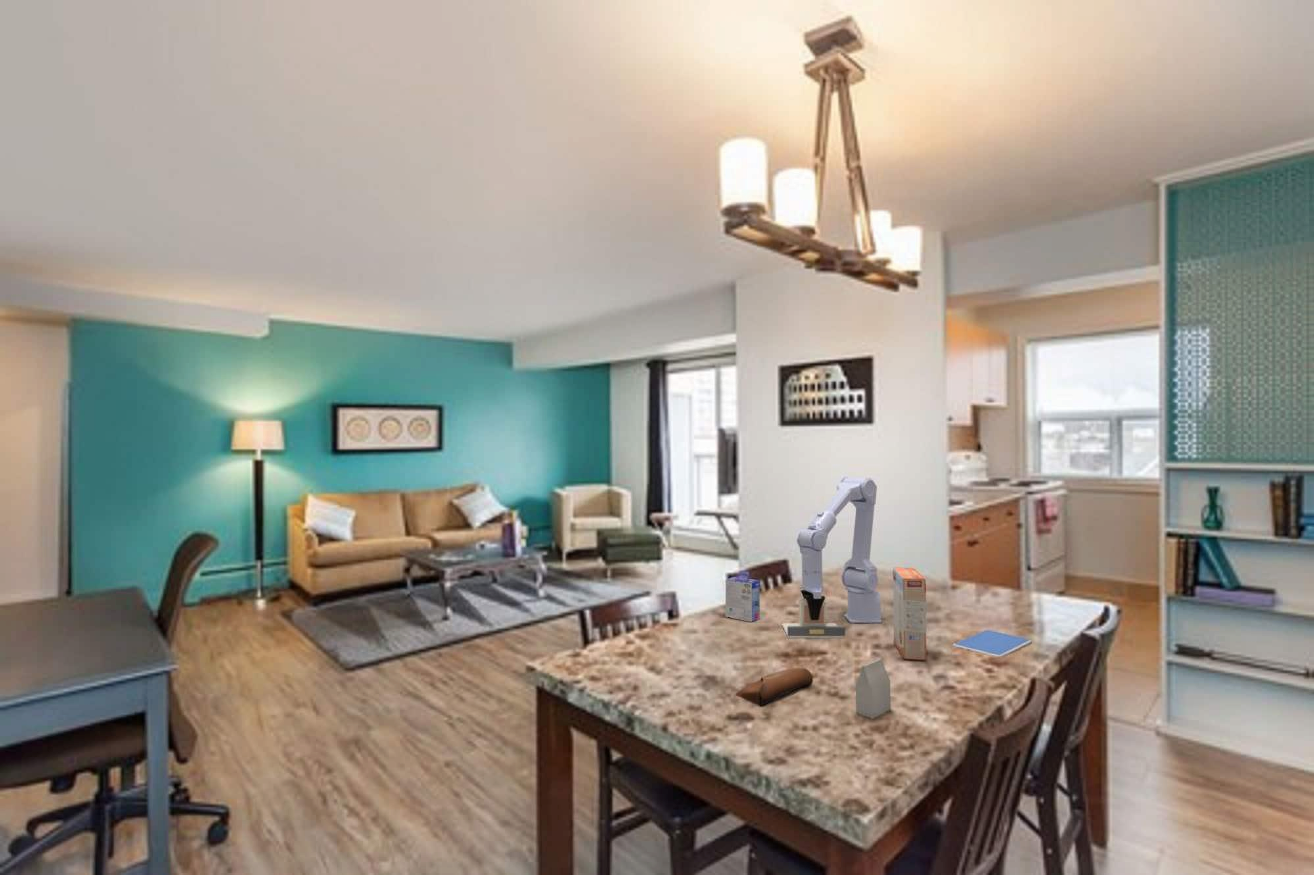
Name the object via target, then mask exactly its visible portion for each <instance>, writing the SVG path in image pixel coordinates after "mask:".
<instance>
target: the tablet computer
mask: <svg viewBox="0 0 1314 875" xmlns="http://www.w3.org/2000/svg"><path fill="white" fill-rule="evenodd" d="M1032 642H1033V641H1032V640H1031V639H1029V638H1025V637H1022V636H1021V637H1020V636H1017V635H1012V634H1007V633H1003V632H998V631H994V630H990V629H985V630H983V631H980V632H978V633H975V634H973V635H971V636H969V637H967V638H964V639H961V640H959V641H957V642H954V643H953V644H952V646H953V647H954V646H956V647H955V648H958V649H962V648H964V649H963V650H966V651H970V650H971V651H970V652H974V653H977V652H979V653H978V654H981V653H982V655H985V654H987V655H986V656H989V655H990V657H993V656H995V657H994V658H997V657H1002V658H1003V657H1006V656H1007V655H1009V654H1012V653H1013V652H1015V651H1017V650H1019V649H1021V648H1023V647H1025V646H1028V645H1029V644H1032Z"/></svg>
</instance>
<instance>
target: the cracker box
mask: <svg viewBox="0 0 1314 875" xmlns="http://www.w3.org/2000/svg"><path fill="white" fill-rule="evenodd" d="M892 579H893V581H892V585H893V586H892V587H893V588H892V590H893V591H892V592H893V597H892V599H893V642H894V645H895V646H896V649H897V650H898V651H899V653H900V656H901V657H902V659H903V660H911V661H912V660H913V661H927V584H926V583H927V582H926V581H927V579H926V578H925V576H923V575H922V574H921V573H920V572H919V571H917V569H915V568H914V567H893V569H892Z"/></svg>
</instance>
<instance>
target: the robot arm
mask: <svg viewBox="0 0 1314 875" xmlns="http://www.w3.org/2000/svg"><path fill="white" fill-rule="evenodd" d="M877 489H878V487H877V485H876V483H875V481H874V480H873V479H872V478H871V477H849V476H844V477H842V478H841V479H840V481H839V482H838V483H837V485H836V490H837V491H836V493H835V495H834V496H833V498H832V499H831V501H830V503H829V505H828V506H827V507H826V509H823V510H820V511H818V512H817V513H816V516H815V517H814V519H813V520H812V521H811V523H810V524H809V525H808V526H807V528H803V529H802V530H800V532H799V533H798V536H797V538H796V542H797V545H798V547H799V552H800V554H801V575H802V576H801V578H802V579H801V580H802V582H801V583H802V584H797V585H798V586H797V588H798V589H800V593H801V596H802V598H805V599H806V601H807V604H808V607H809V614H810V618H811V620H819V616H820V611H821V607H822V604H823V602H824V600H825V601H826V597H825V595H822V591H823V590H824V585H823V549H824V548H825V547H826V545H827V540H828V537H829V534H830V532H831V531H832V529H833V528H834V527H835V526H836V524H837V516H838V515H839V514H840V513H841V512H842V511H843V509H844V508H845V507H846V506H847V505H848V503H849V502H850V504H853V507H854V508H855V518H854V528H853V530H854V531H853V539H852V551H851V558H850V559H848V560H847V561H846V562H844V567H843V570H842V572H841V578H840V579H841V582H842V585H843V586H844V587H845V590H847V613H844V615H843V616H844V617H845V618H846V619H847V621H849V622H850V623H851V624H853V623H857V624H858V623H864V624H865V623H866V624H869V623H872V624H874V623H875V624H877V623H879V624H881V623H882V622H883V621H882V610H881V609H882V607H881V606H882V603H881V595H880V593H879V591H878V590H876V589H877V586H878V584H879V578H878V573H877V572H878V568H877V567H876V565H875V564H874V563H873V562H871V548H872V538H873V528H874V526H873V524H874V513H875V505H876V499H877V492H878V491H877Z"/></svg>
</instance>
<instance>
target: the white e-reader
mask: <svg viewBox="0 0 1314 875" xmlns="http://www.w3.org/2000/svg"><path fill="white" fill-rule="evenodd" d="M781 626H783V627H782V628H784V629H783V630H785V631H784V633H785V632H786V633H785V634H787V635H786V636H788V637H787V638H788V639H846V627H845V626H844V625H837V623H835V622H834V623H831V622H830V623H829V622H826V626H799V622H798V623H794V622H793V623H784V622H783V623H781Z"/></svg>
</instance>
